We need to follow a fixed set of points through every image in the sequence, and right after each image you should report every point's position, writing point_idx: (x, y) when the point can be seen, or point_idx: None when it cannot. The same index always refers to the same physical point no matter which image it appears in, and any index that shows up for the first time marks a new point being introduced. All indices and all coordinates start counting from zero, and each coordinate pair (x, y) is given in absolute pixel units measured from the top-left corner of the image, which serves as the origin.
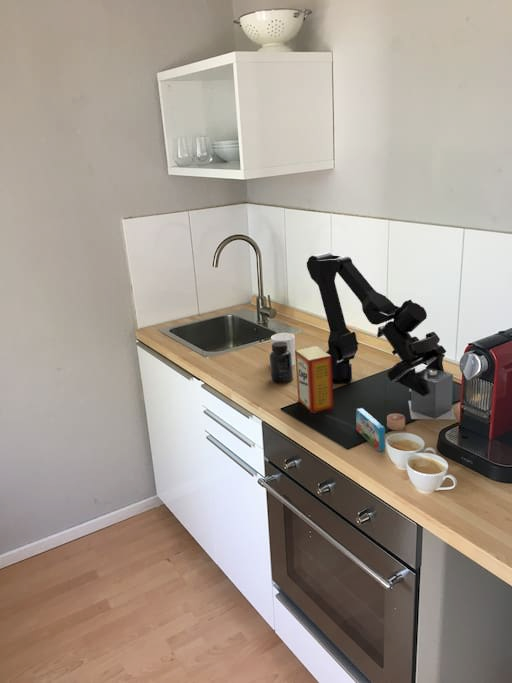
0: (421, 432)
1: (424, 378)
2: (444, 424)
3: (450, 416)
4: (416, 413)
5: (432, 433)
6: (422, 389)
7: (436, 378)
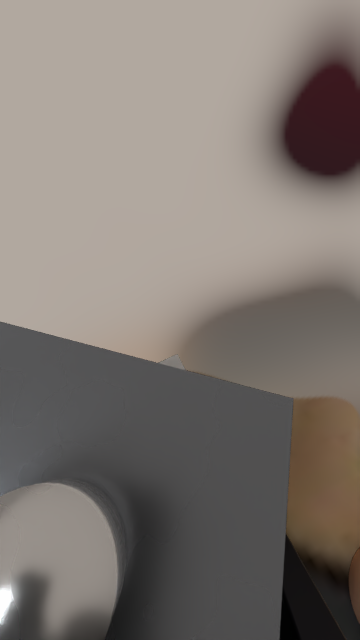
0: (340, 446)
1: (247, 629)
2: None
3: None
4: None
5: (317, 401)
6: (295, 557)
7: (167, 439)
